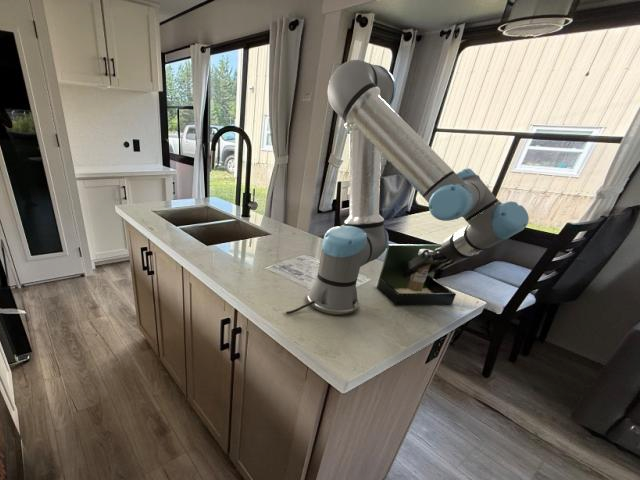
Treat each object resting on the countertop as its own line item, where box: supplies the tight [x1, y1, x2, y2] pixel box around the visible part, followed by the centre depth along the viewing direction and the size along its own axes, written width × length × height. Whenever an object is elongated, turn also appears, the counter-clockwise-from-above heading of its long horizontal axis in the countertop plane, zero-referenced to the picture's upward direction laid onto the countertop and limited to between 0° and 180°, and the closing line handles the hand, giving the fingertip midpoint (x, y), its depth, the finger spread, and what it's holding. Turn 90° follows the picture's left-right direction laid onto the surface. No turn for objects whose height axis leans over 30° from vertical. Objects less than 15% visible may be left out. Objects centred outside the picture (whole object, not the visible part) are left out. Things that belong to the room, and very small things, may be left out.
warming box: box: [376, 243, 457, 307], centre depth 106 cm, size 20×13×16 cm, turn 96°
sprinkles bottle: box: [407, 249, 433, 292], centre depth 106 cm, size 5×5×14 cm
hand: (411, 274), depth 110 cm, fingers closed on sprinkles bottle, 4 cm apart
